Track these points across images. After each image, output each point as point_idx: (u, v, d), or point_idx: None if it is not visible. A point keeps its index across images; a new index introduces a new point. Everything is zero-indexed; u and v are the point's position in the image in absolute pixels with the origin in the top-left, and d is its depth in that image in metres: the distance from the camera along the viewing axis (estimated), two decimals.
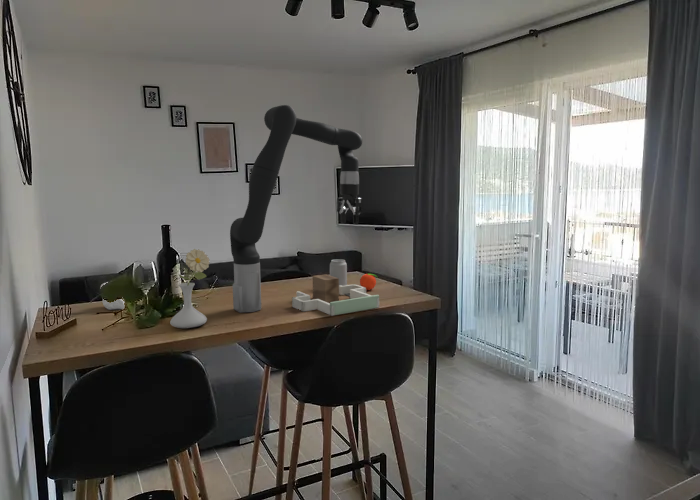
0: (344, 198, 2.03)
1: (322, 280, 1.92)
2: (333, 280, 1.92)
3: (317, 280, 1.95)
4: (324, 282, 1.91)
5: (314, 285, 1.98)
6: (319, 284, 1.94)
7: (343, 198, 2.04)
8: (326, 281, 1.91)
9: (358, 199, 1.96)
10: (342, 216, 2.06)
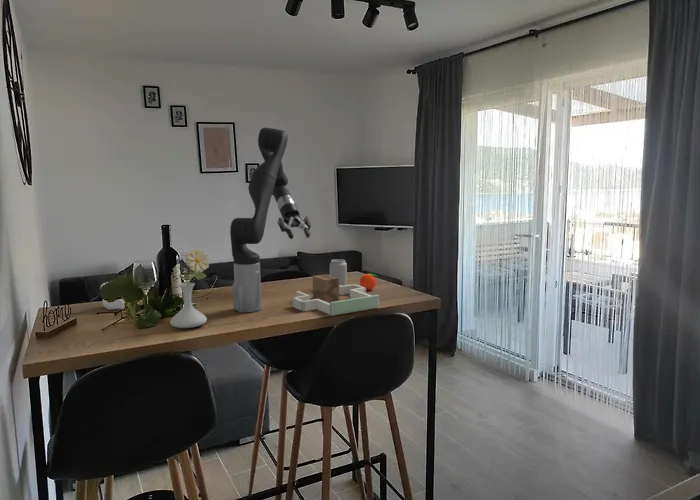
0: (289, 217, 2.15)
1: (322, 280, 1.92)
2: (333, 280, 1.92)
3: (317, 280, 1.95)
4: (324, 282, 1.91)
5: (314, 285, 1.98)
6: (319, 284, 1.94)
7: (287, 217, 2.14)
8: (326, 281, 1.91)
9: None
10: None
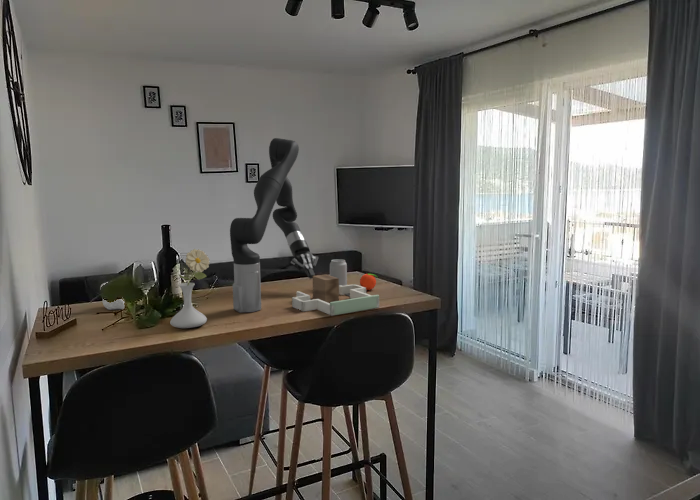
0: (299, 254, 2.09)
1: (322, 280, 1.92)
2: (333, 280, 1.92)
3: (317, 280, 1.95)
4: (324, 282, 1.91)
5: (314, 285, 1.98)
6: (319, 284, 1.94)
7: (296, 254, 2.09)
8: (326, 281, 1.91)
9: None
10: None
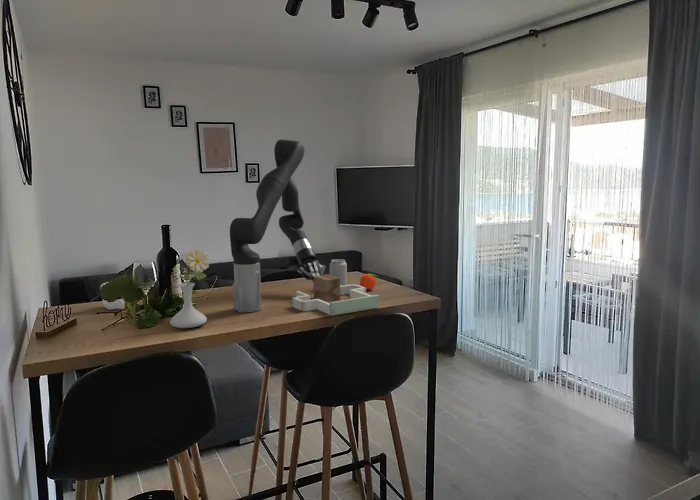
0: (306, 263, 2.04)
1: (323, 280, 1.92)
2: (334, 280, 1.92)
3: (318, 280, 1.95)
4: (325, 282, 1.90)
5: (315, 285, 1.97)
6: (320, 284, 1.94)
7: (303, 263, 2.04)
8: (327, 281, 1.90)
9: None
10: None
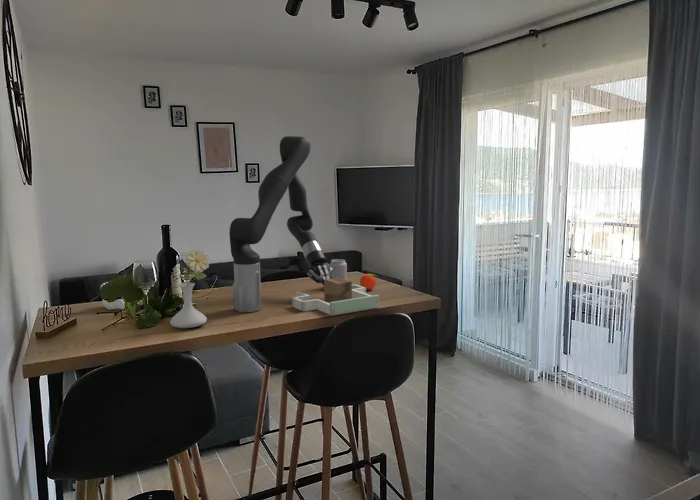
0: (316, 265, 1.98)
1: (334, 284, 1.85)
2: (346, 284, 1.85)
3: (329, 284, 1.88)
4: (337, 286, 1.84)
5: (326, 289, 1.91)
6: (331, 288, 1.87)
7: (313, 265, 1.97)
8: (339, 284, 1.83)
9: None
10: None
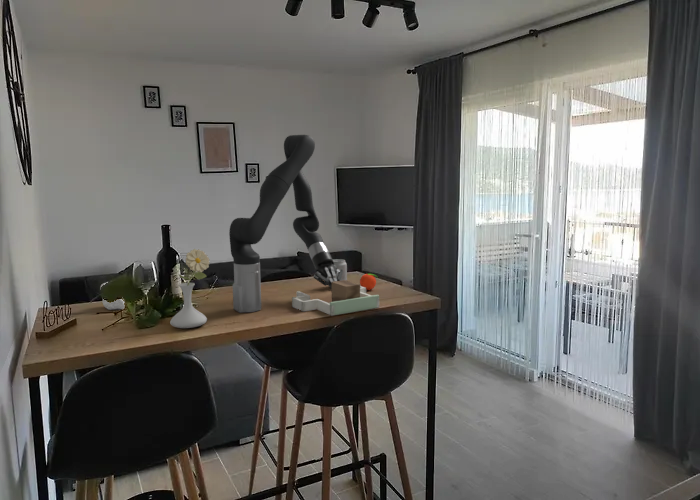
0: (322, 267, 1.93)
1: (342, 286, 1.80)
2: (354, 286, 1.81)
3: (337, 286, 1.84)
4: (345, 289, 1.79)
5: (333, 292, 1.86)
6: (339, 291, 1.83)
7: (320, 267, 1.93)
8: (347, 287, 1.79)
9: None
10: None
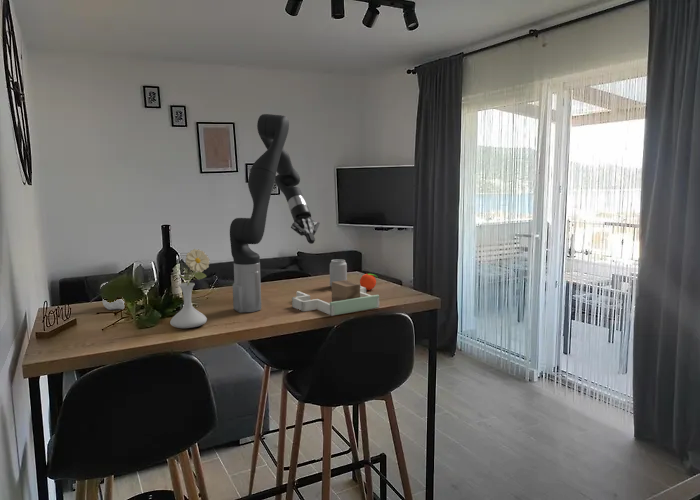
0: (300, 219, 2.04)
1: (342, 286, 1.80)
2: (354, 286, 1.81)
3: (337, 286, 1.84)
4: (345, 289, 1.79)
5: (333, 292, 1.86)
6: (339, 291, 1.83)
7: (297, 218, 2.04)
8: (347, 287, 1.79)
9: None
10: None
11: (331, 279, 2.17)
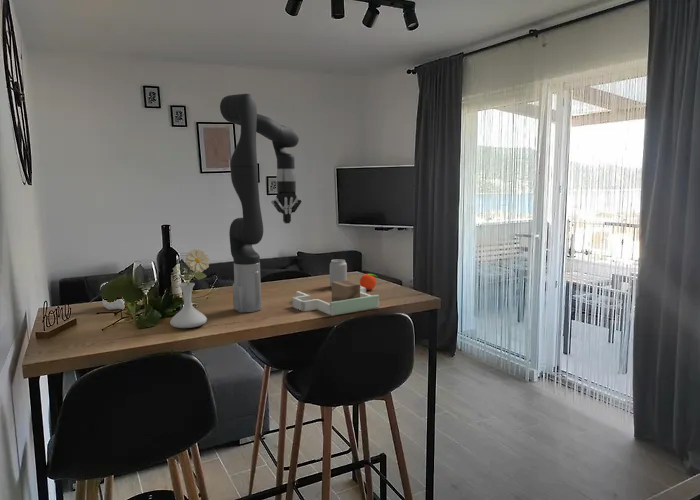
0: (283, 195, 2.01)
1: (342, 286, 1.80)
2: (354, 286, 1.81)
3: (337, 286, 1.84)
4: (345, 289, 1.79)
5: (333, 292, 1.86)
6: (339, 291, 1.83)
7: (280, 195, 2.01)
8: (347, 287, 1.79)
9: None
10: None
11: (331, 279, 2.17)
